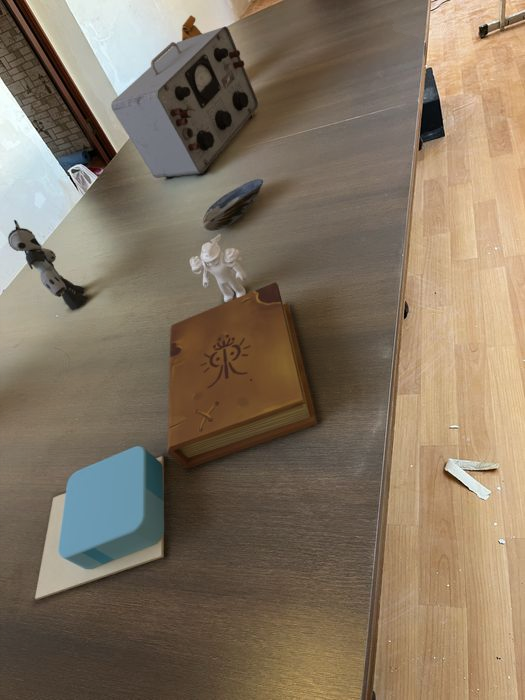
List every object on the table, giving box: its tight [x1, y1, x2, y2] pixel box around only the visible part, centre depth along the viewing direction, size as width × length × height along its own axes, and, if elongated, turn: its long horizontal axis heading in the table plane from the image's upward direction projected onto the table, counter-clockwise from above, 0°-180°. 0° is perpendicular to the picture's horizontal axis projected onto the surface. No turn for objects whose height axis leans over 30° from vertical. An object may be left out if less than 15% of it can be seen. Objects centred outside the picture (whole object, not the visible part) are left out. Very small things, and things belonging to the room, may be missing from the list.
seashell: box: [201, 178, 264, 232], centre depth 101 cm, size 15×12×5 cm
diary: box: [167, 281, 319, 468], centre depth 69 cm, size 23×19×6 cm
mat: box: [34, 455, 165, 601], centre depth 64 cm, size 18×14×1 cm
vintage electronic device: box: [111, 26, 259, 180], centre depth 124 cm, size 32×18×25 cm, turn 150°
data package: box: [58, 445, 165, 569], centre depth 62 cm, size 12×4×12 cm
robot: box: [7, 219, 89, 311], centre depth 101 cm, size 20×5×20 cm, turn 28°
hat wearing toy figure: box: [189, 233, 247, 303], centre depth 82 cm, size 9×4×12 cm, turn 80°
